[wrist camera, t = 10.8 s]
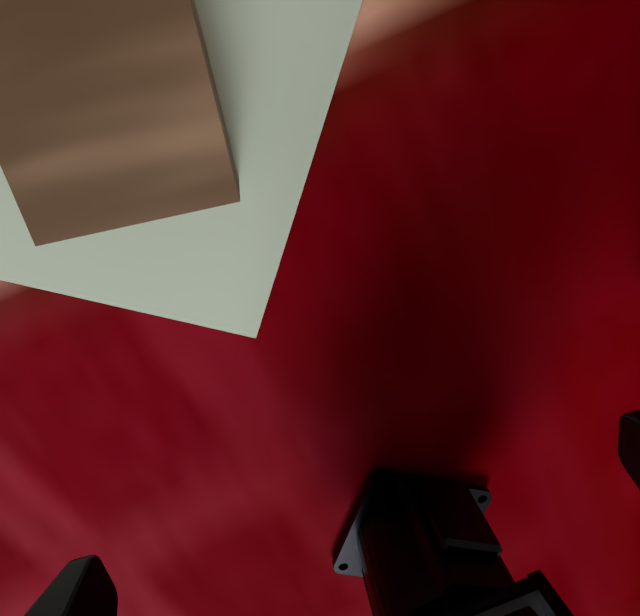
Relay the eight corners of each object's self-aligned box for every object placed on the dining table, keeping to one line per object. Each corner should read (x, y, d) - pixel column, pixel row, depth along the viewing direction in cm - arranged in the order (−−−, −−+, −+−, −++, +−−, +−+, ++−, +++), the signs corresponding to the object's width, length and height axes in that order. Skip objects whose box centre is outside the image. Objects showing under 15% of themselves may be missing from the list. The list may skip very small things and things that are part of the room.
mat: (255, 333, 22) (255, 338, 21) (-177, 234, 18) (-186, 237, 18) (410, -159, 16) (414, -165, 16) (-177, -461, 12) (-190, -478, 12)
